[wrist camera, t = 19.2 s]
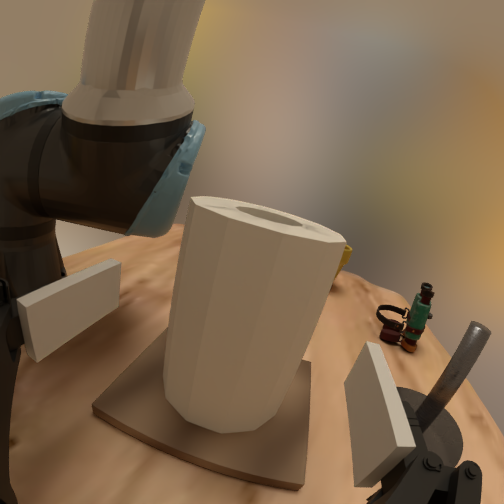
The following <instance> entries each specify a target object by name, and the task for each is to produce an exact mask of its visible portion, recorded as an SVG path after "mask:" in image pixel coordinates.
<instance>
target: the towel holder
mask: <svg viewBox="0 0 504 504" xmlns="http://www.w3.org/2000/svg"><path fill="white" fill-rule="evenodd" d="M490 335H491V331H490V330H489V329H488V328H486V327H485V326H483V325H482V324H480V323H478V322H475V321H471V323H470V325H469V327H468V329H467V331H466V333H465V335H464V337H463V339H462V341H461V343H460V344H459V346H458V348H457V350H456V352H455V353H454V355H453V357H452V358H451V360H450V362H449V363H448V365H447V367H446V368H445V370H444V372H443V373H442V375H441V376H440V378H439V379H438V381H437V382H436V384H435V385H434V387H433V388H432V390H431V391H430V393H429V394H428V396H426V395H424V394H422V393H420V392H417V391H414V390H411V389H407V388H403V387H396V388H397V391H398V393H399V396H400V399H401V401H407V402H408V403H409V404H410V406H411V407H412V408H413V409H414V412H415V414H416V417H417V420H418V423H419V427H420V428H421V431H422V434H423V437H424V440H425V443H426V446H427V449H428V451H431V452H434V453H436V454H437V455H438V456H439V457H440V458H441V459H442V461H443V464H444V466H448V467H453V468H454V467H455V466H456V465H457V463H458V462H459V460H460V458H461V455H462V451H463V439H462V435H461V432H460V429H459V427H458V425H457V423H456V422H455V420H454V419H453V417H452V416H451V415H450V414H449V412H448V411H447V410H446V409H445V406H446V405H447V404H448V402H449V401H450V400H451V398H452V397H453V395H454V394H455V393H456V391H457V390H458V388H459V387H460V385H461V384H462V382H463V381H464V379H465V378H466V376H467V375H468V373H469V372H470V370H471V368H472V367H473V365H474V363H475V362H476V360H477V358H478V357H479V355H480V353H481V351H482V350H483V348H484V346H485V344H486V342H487V340H488V339H489V336H490Z"/></svg>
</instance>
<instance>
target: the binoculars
mask: <svg viewBox="0 0 504 504" xmlns="http://www.w3.org/2000/svg"><path fill="white" fill-rule="evenodd" d="M432 288H433V287H432V285H431V284H429V283H422V285H421V289H422V290H421V293H417V295H416V297H415V299H414V302H413V305H412V307H411V310H409V309H408V308H405V310H403V309H401V308H398V307H395V306H392V305H380V306H379V307H378V309H377V313H376V315H377V318H378V319H379V320H380V321H381V322H382V323H383V324H384V325H383V329H382V330H381V333H380V338H382V339H384V340H387V341H392V342H401V345H402V346H403V347H404V348H405V349H406V350H407V351H409V352H414V351H415V349H416V347H417V345H416V342H417V340H419V338H420V337H421V334H422V333H423V332H424V329H425V324H426V321H427V319H432V314H431V313H429V311H430V308H431V301H430V300H431V298H432V297H433V296H434V292H432V291H431V290H432ZM406 309H407V310H408V311H409V312H408V313H407V317H406V318H407V321H403V323H400V322H398V321H396V320H392V319H387V318H385V317H384V316H383V315H381V313H380V312H379V310H390V311H393V312H396V313H399V314H401V315H402V318H403V319H406V318H405V317H403V316H405V313H406ZM404 322H405V323H406V324H407V325H406V328H405V329H404V330H403V327H404ZM401 330H403V331H401ZM400 333H402V334H403V335H404V336H405V337H406V338H403V339H402V340H401V341H399V339H400V336H401V334H400Z"/></svg>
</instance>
